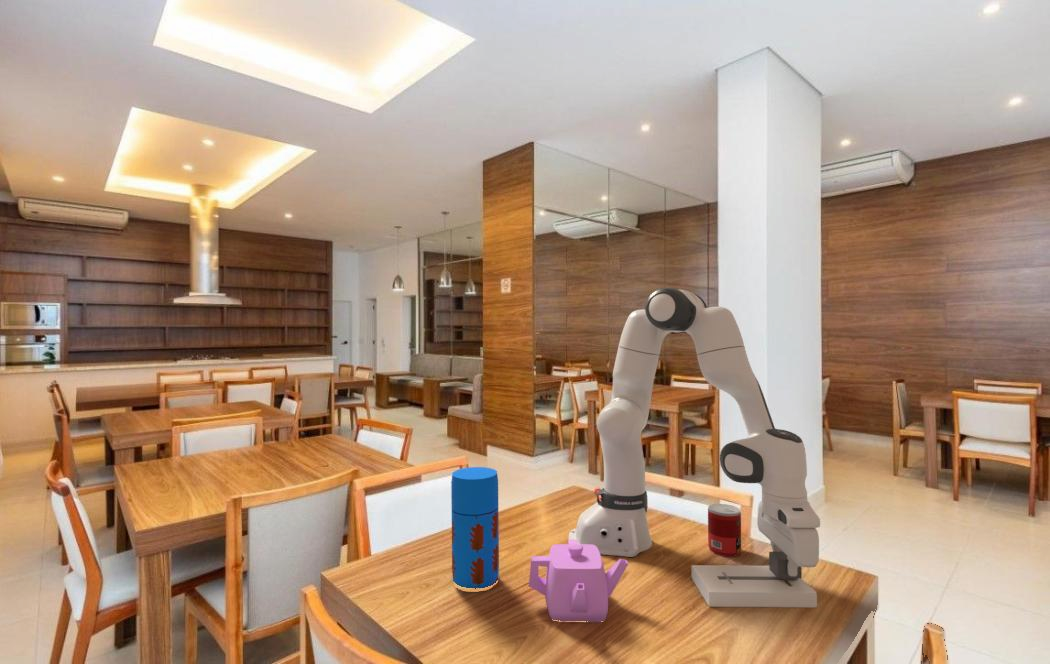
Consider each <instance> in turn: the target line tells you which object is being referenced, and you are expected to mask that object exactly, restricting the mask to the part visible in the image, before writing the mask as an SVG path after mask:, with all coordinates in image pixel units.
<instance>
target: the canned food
mask: <svg viewBox="0 0 1050 664" xmlns="http://www.w3.org/2000/svg"><path fill="white" fill-rule="evenodd" d="M707 532H708V533H707V535H708V536H707V537H708V538H707V541H708V546H707V547H708V548H709V551H711V552H712V553H713V554H716V555H718V556H722V557H728V558H729V557H731V558H733V557H737V556H739V555H740V554H741V552H742V512H741V509H740V508H739V507H737V506H736V505H731V504H727V503H725V504H724V503H713V504H712V503H711V504H710V505H708V506H707Z"/></svg>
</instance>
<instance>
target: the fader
mask: <svg viewBox="0 0 1050 664" xmlns="http://www.w3.org/2000/svg"><path fill="white" fill-rule="evenodd" d="M768 561H769V563H768V566H769V570H770V571H771V572H772V573H773V574H774V575H775V576H776V577H777V578H802V575H803V574H802V570H803V567H799V566H798V568H797V576H789V575H788V574H787V573H786V565H788V561H789V560H788V559H787V555H786V554H785V553H784V552H773V551H769V552H768ZM802 579H803V578H802Z"/></svg>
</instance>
